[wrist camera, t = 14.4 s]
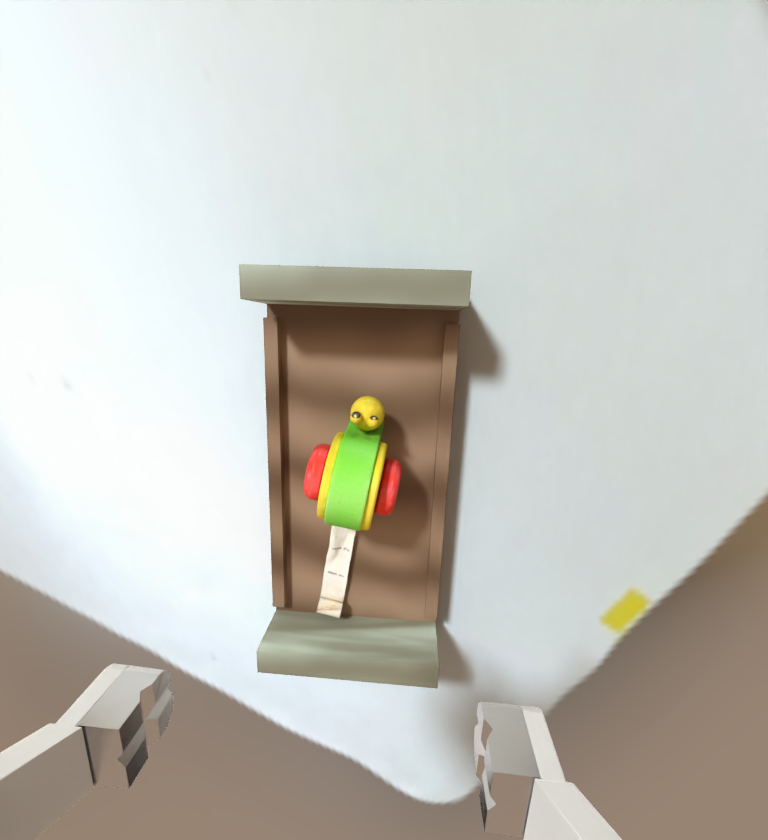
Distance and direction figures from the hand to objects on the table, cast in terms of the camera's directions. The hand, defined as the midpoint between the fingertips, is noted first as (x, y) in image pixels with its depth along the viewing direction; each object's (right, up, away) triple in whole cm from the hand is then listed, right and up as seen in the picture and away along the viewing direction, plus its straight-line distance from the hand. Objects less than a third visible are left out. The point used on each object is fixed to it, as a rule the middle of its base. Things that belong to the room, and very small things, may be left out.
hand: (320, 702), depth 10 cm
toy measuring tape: (-1, 0, +22) cm, 22 cm away
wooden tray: (0, +3, +22) cm, 22 cm away
